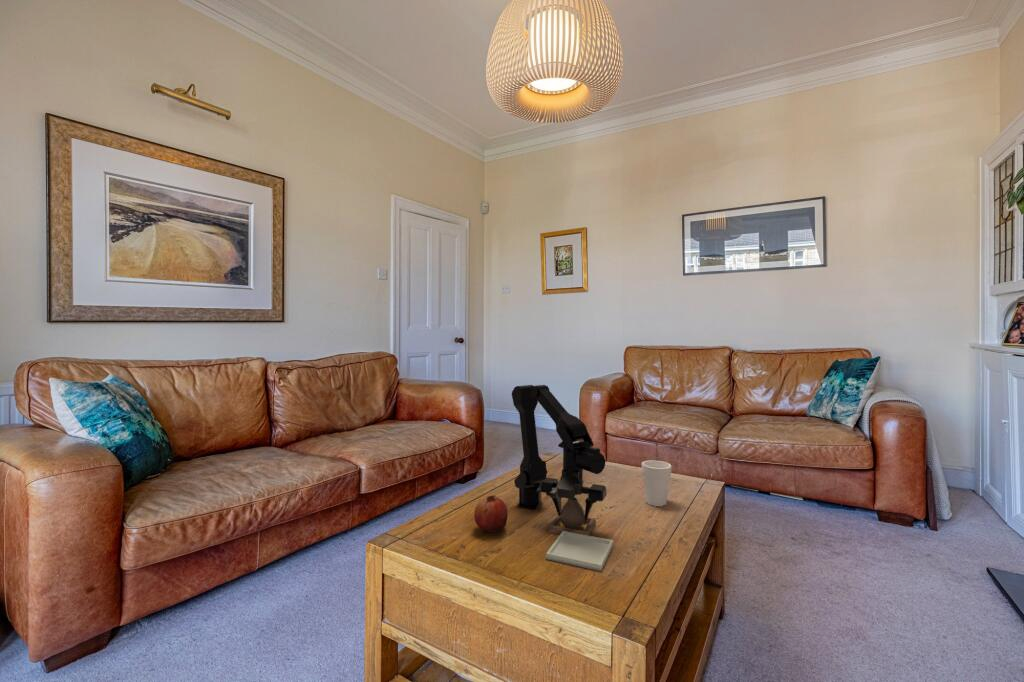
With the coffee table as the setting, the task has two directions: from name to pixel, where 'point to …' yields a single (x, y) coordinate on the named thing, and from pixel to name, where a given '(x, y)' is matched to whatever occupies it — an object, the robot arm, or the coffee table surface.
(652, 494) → the foam cup
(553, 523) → the holder
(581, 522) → the vase
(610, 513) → the coffee table surface
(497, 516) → the fruit
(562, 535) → the tray
